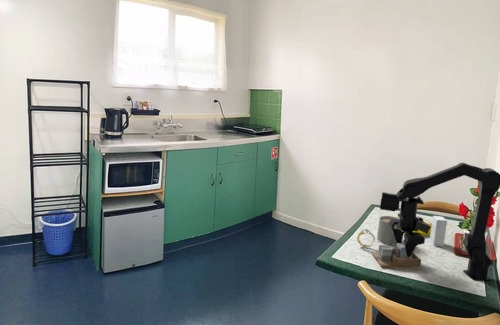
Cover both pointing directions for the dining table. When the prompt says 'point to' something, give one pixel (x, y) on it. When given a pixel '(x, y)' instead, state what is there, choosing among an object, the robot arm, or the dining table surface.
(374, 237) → the ring
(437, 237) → the skincare box
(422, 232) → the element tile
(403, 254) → the block
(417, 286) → the dining table surface
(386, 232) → the coffee mug
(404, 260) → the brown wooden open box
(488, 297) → the dining table surface
